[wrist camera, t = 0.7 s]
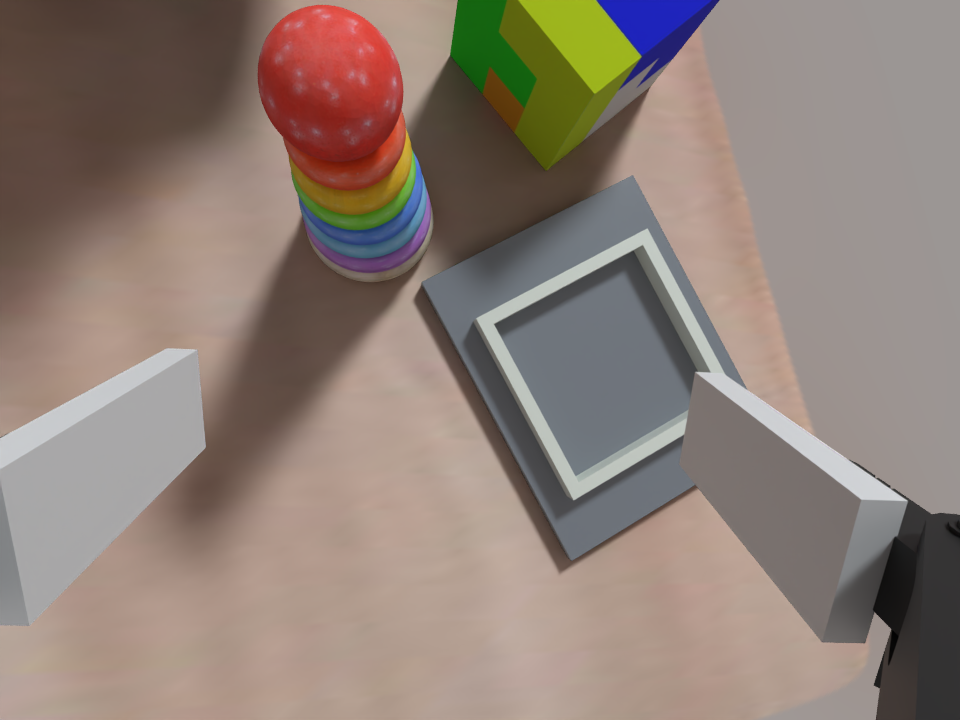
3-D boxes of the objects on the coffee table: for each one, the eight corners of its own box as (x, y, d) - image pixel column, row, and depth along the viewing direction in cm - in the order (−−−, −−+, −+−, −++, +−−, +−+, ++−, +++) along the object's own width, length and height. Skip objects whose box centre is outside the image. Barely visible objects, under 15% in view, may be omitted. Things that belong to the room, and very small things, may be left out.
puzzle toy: (650, 86, 40) (731, -15, 30) (545, 171, 39) (594, 94, 29) (559, -26, 40) (611, -166, 30) (450, 55, 38) (466, -63, 28)
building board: (421, 285, 37) (422, 277, 34) (627, 180, 39) (642, 166, 37) (566, 556, 37) (578, 568, 35) (763, 436, 39) (787, 439, 37)
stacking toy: (397, 144, 37) (392, -106, 19) (453, 252, 37) (503, 111, 19) (285, 193, 36) (161, -21, 18) (342, 305, 36) (279, 210, 18)
